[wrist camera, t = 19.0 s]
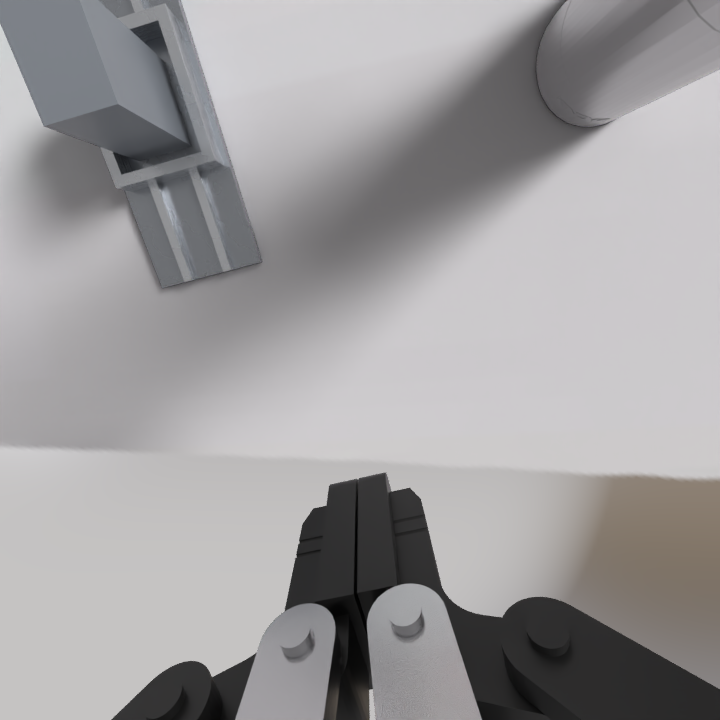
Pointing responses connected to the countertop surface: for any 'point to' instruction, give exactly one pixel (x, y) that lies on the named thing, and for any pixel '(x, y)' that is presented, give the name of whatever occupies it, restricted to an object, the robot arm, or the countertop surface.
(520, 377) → the countertop surface
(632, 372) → the countertop surface
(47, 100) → the module
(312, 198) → the countertop surface
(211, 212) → the rail
